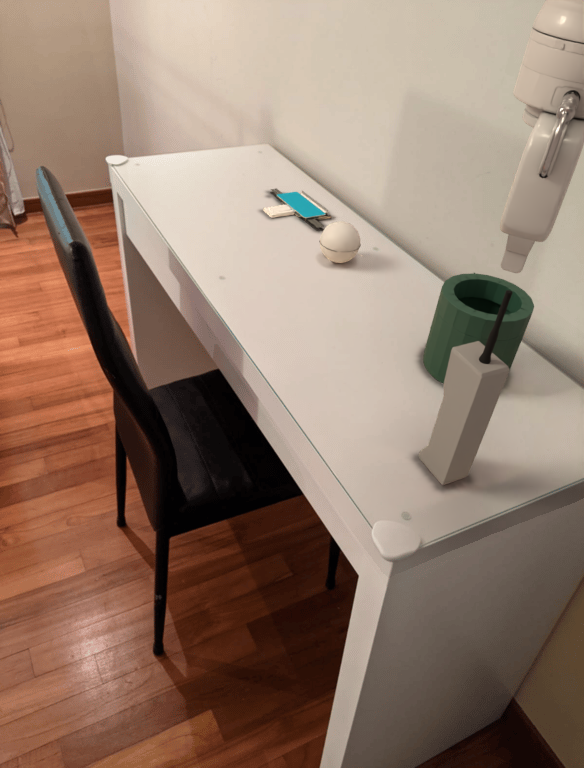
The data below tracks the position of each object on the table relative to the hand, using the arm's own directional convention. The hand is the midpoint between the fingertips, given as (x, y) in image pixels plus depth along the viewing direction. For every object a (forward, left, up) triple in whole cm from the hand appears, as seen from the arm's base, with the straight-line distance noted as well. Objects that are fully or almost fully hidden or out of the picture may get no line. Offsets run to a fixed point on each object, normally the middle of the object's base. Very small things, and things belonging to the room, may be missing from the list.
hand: (519, 246), depth 55 cm
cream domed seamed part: (+29, -41, -29) cm, 58 cm away
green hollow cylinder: (+2, -22, -29) cm, 37 cm away
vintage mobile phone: (0, 0, -29) cm, 29 cm away
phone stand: (+46, -57, -29) cm, 79 cm away
